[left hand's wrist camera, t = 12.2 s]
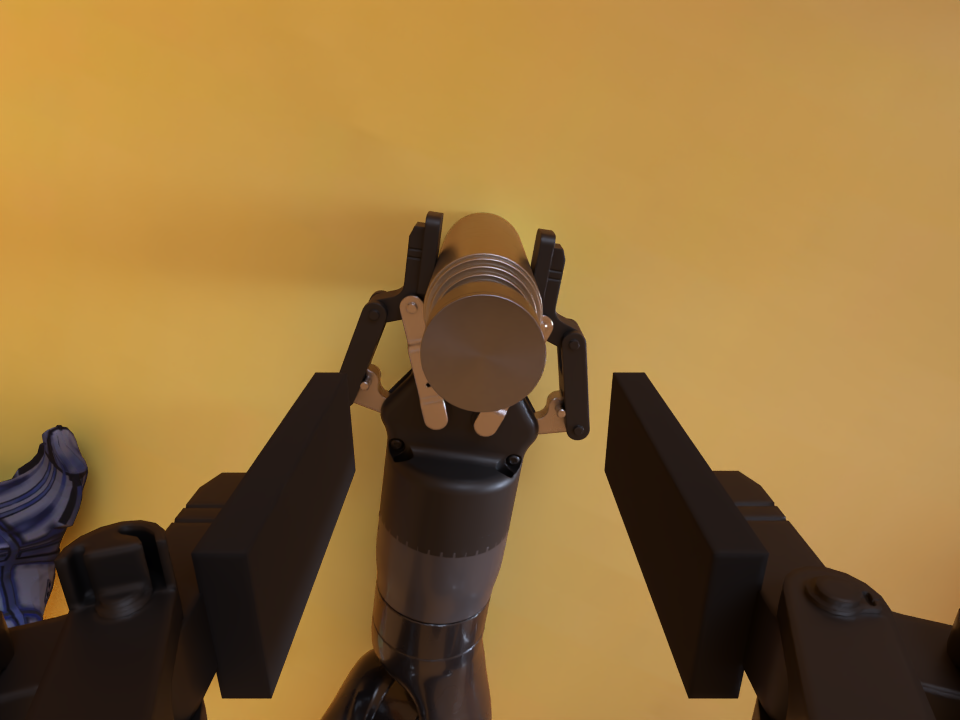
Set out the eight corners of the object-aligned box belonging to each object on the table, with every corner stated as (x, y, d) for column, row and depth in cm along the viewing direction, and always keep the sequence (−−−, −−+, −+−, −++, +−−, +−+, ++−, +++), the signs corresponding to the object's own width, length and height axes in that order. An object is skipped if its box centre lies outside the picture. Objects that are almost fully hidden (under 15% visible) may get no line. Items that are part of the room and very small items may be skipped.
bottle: (475, 307, 36) (470, 441, 21) (426, 245, 35) (380, 338, 19) (538, 260, 35) (584, 364, 19) (490, 195, 34) (497, 249, 18)
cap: (472, 411, 22) (471, 434, 20) (401, 327, 20) (394, 344, 19) (563, 348, 21) (571, 367, 19) (494, 256, 20) (496, 268, 18)
